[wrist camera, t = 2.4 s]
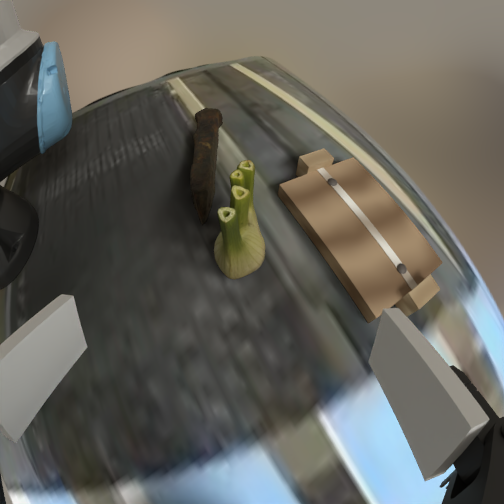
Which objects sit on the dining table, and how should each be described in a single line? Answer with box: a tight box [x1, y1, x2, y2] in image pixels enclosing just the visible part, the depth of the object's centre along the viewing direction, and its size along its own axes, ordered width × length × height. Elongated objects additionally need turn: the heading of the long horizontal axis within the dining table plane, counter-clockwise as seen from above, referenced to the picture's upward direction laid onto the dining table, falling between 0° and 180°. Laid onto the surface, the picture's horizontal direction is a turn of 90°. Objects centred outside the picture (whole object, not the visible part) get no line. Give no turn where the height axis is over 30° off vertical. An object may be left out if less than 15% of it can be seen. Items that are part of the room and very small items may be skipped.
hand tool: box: [190, 108, 223, 225], centre depth 33 cm, size 19×4×5 cm, turn 1°
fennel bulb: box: [214, 160, 265, 279], centre depth 24 cm, size 6×5×12 cm
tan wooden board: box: [278, 149, 442, 323], centre depth 29 cm, size 22×12×3 cm, turn 29°
